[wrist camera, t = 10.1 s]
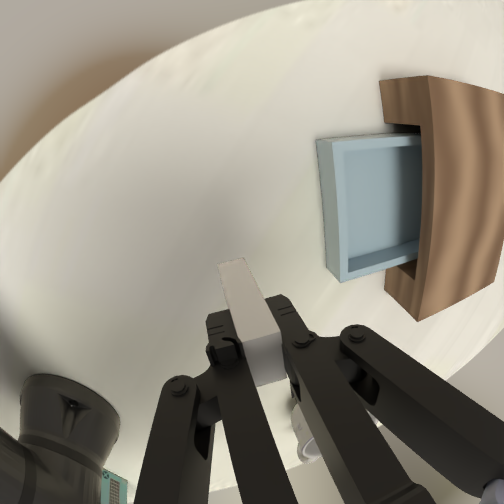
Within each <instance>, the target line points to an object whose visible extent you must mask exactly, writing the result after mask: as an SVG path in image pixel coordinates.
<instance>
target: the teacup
mask: <svg viewBox="0 0 504 504" xmlns="http://www.w3.org/2000/svg"><path fill="white" fill-rule="evenodd" d="M367 412H368V414H369V415H370V417H371V418H372V420H373V421H374V423H375V424H377V422H378V420H377V419H376V418H375V417H374V416H373V415H372V414H371V413H370V412H369V411H367ZM291 422H292V426H293V429H294V432H295V435H296V437H297V440H298V442H299V443H298V447H297V454H298V457H299V459H300V460H301V461H302V462H303V463H312V462H314V461H316V460H317V458H318V457H322V455H321V452H320V450H319V448H318V446H317V444H316V442H315V440H314V437H313V435H312V433H311V431H310V429H309V427H308V424H307V422H306V420H305V418H304V416H303V413H302V411H301V409H300V407H299V405H298V403H297V404H296V405H295V407H294V409H293V411H292V415H291Z"/></svg>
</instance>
